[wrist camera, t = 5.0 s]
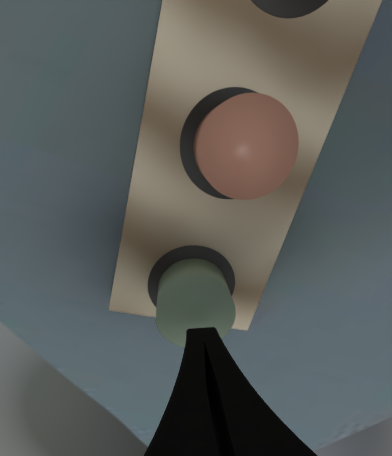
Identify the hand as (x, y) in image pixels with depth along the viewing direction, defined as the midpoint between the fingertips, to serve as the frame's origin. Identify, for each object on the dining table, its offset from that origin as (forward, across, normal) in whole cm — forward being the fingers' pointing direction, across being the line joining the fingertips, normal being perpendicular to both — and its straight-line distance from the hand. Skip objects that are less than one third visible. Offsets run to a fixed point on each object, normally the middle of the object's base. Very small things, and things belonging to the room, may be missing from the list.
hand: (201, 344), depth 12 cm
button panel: (+6, -2, -9) cm, 11 cm away
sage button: (+5, 0, 0) cm, 5 cm away
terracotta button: (+5, -2, -9) cm, 10 cm away
